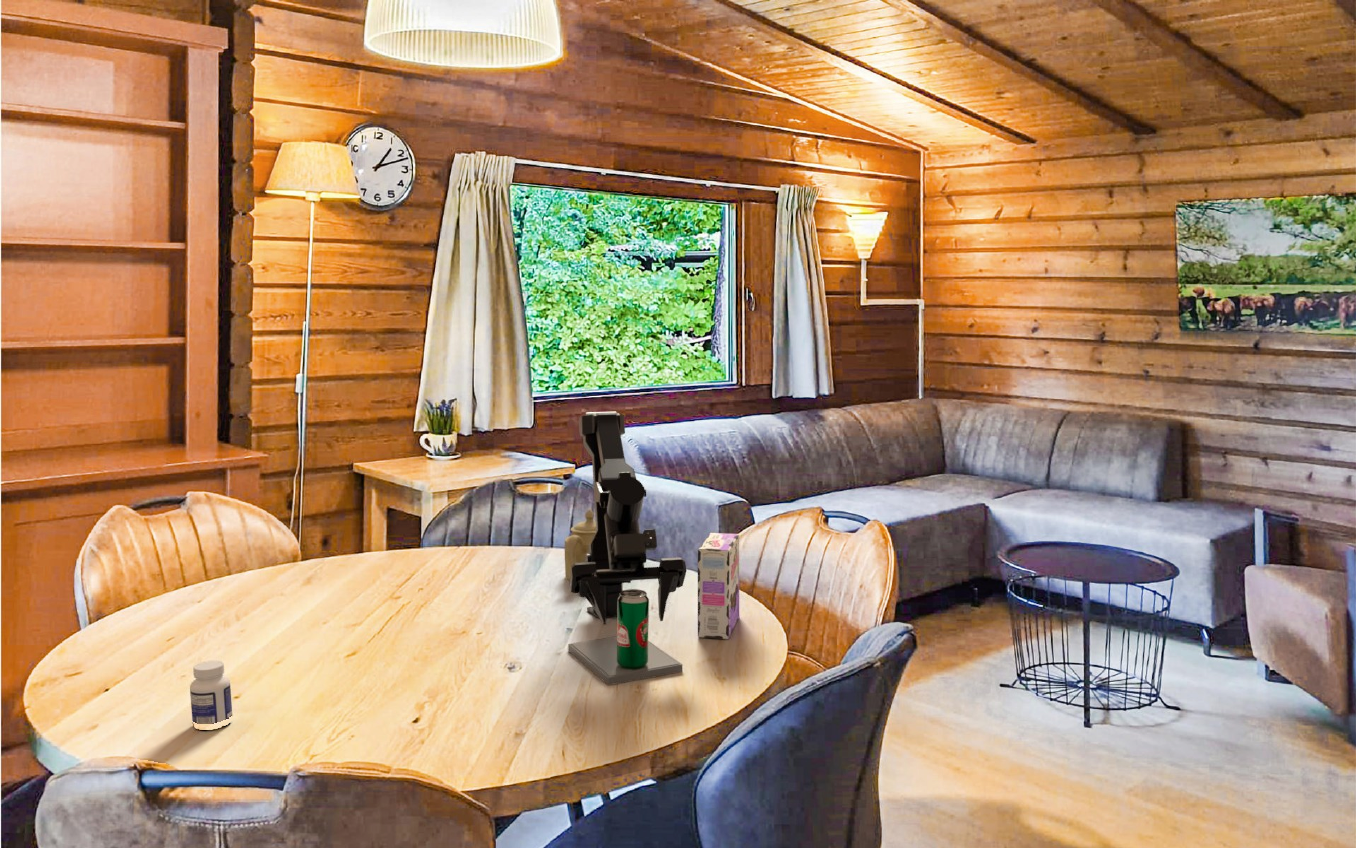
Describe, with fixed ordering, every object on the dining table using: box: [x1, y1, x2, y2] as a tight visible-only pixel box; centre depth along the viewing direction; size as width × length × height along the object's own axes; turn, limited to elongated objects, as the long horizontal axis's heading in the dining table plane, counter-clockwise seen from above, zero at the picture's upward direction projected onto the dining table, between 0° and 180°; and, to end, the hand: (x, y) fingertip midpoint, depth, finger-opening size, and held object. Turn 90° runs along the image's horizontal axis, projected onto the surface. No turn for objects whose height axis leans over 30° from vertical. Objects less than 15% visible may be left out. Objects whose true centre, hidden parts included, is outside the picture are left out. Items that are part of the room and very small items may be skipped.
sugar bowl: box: [564, 508, 596, 581], centre depth 225 cm, size 15×11×15 cm
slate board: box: [567, 635, 683, 686], centre depth 175 cm, size 18×13×1 cm
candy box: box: [697, 532, 740, 640], centre depth 192 cm, size 14×6×16 cm, turn 168°
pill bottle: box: [189, 659, 233, 724], centre depth 150 cm, size 5×5×9 cm
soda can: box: [616, 588, 650, 669], centre depth 169 cm, size 5×5×12 cm
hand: (633, 621), depth 167 cm, fingers open, 9 cm apart
